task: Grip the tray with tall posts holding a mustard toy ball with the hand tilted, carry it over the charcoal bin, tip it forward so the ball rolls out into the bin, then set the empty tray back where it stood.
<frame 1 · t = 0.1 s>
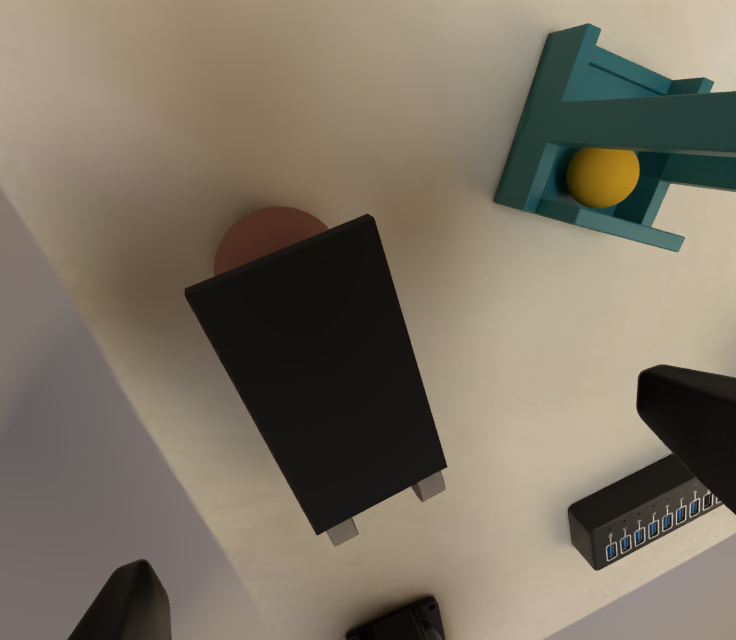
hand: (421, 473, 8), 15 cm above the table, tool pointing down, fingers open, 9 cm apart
figurine character: (316, 349, 23), on the table
tray with tall posts: (581, 143, 23), on the table, touching toy ball
toy ball: (601, 174, 22), point 2 cm above the table, touching tray with tall posts
multiport hub: (651, 483, 35), on the table
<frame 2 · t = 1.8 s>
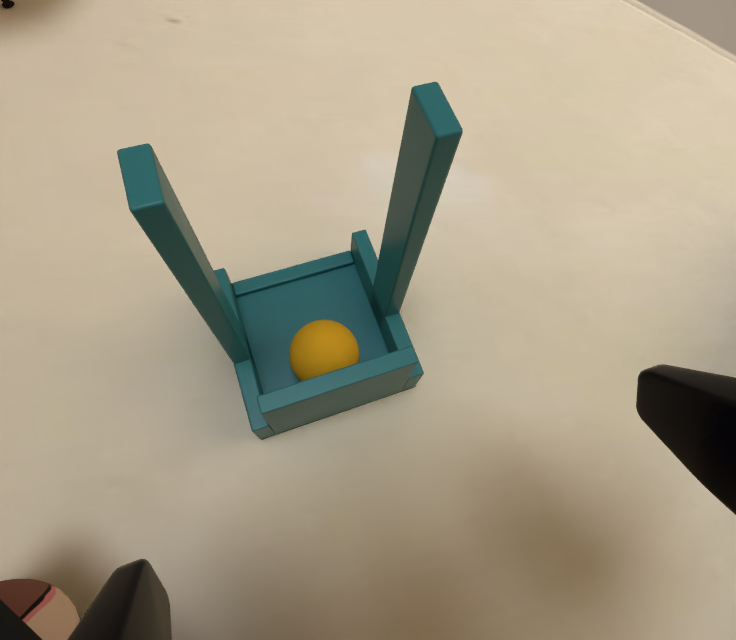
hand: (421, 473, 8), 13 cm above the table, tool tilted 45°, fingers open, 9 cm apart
tray with tall posts: (315, 339, 23), on the table, touching toy ball
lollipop: (12, 6, 30), on the table
toy ball: (324, 354, 21), point 2 cm above the table, tilted 6°, touching tray with tall posts
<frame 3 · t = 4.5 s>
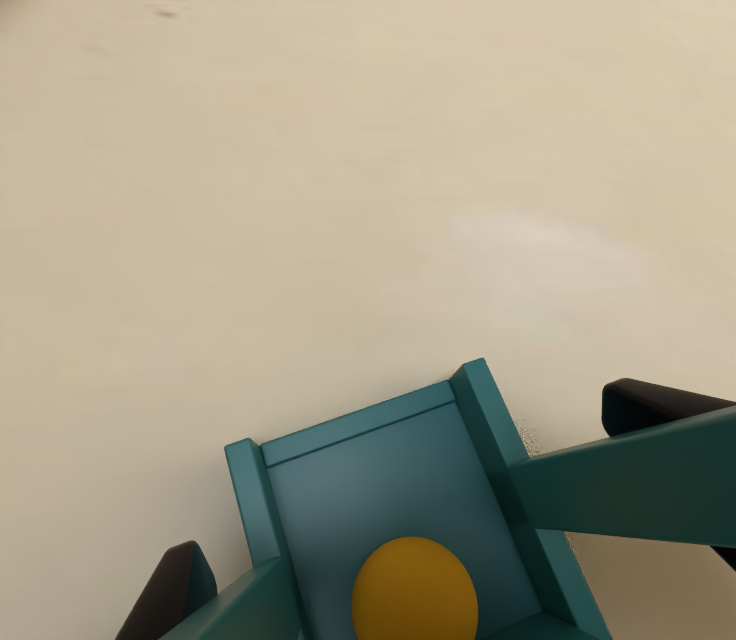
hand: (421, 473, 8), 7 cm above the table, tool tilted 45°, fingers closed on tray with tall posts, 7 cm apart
tray with tall posts: (398, 536, 14), on the table, touching gripper, toy ball
toy ball: (414, 605, 11), point 2 cm above the table, tilted 16°, touching tray with tall posts
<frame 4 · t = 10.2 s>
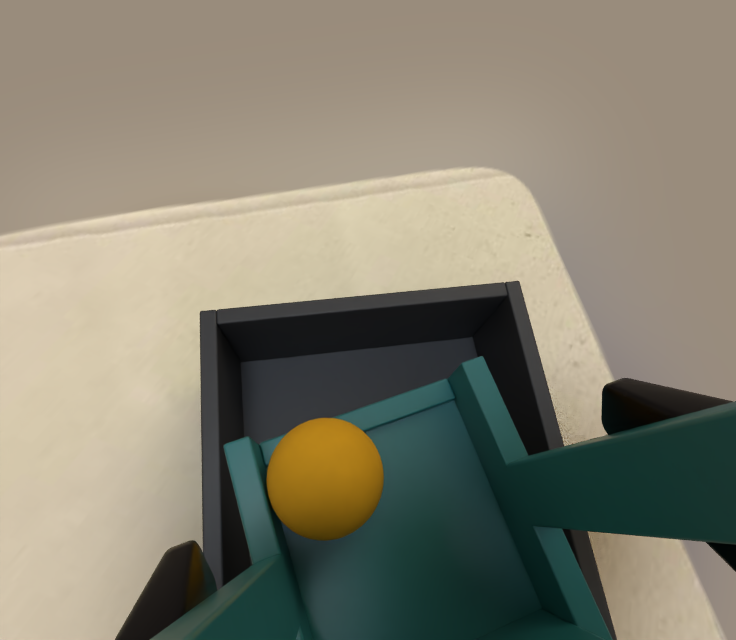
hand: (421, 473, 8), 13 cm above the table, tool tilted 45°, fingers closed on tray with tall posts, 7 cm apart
bin: (375, 471, 21), on the table
tray with tall posts: (397, 534, 14), point 7 cm above the table, touching gripper, toy ball
toy ball: (325, 476, 12), point 9 cm above the table, tilted 117°, touching tray with tall posts
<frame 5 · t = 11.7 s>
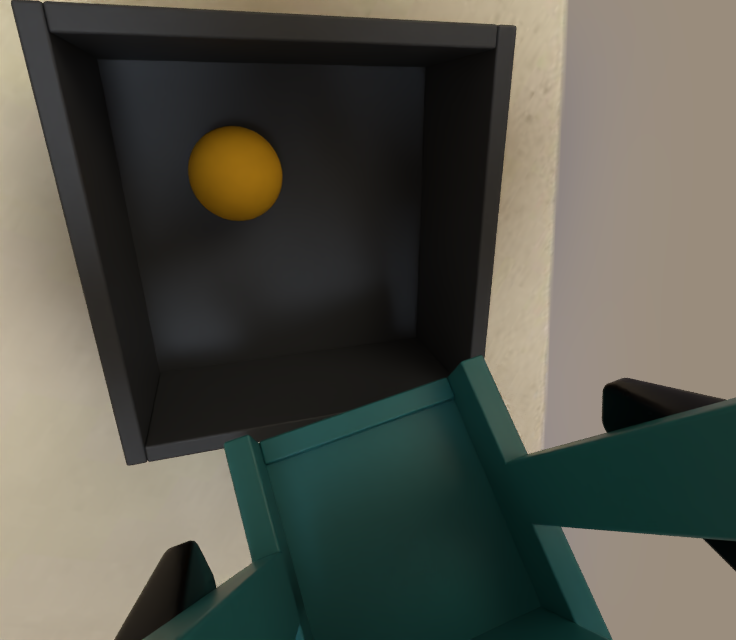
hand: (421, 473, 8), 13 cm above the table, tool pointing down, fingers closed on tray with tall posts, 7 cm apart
bin: (286, 222, 19), on the table
tray with tall posts: (396, 532, 14), point 9 cm above the table, tilted 45°, touching gripper
toy ball: (236, 174, 16), point 2 cm above the table, tilted 115°, touching bin
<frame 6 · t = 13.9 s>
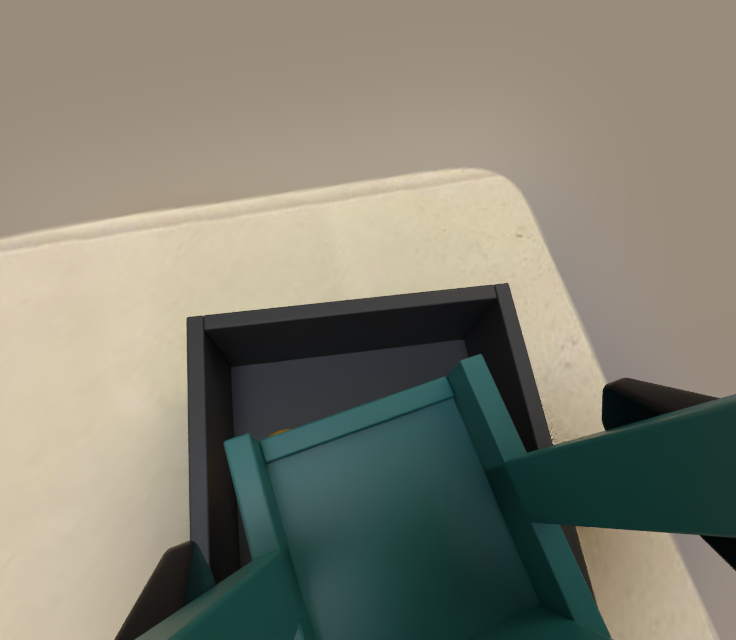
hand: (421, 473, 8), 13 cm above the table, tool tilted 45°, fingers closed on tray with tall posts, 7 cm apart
bin: (367, 475, 21), on the table
tray with tall posts: (396, 531, 14), point 7 cm above the table, touching gripper
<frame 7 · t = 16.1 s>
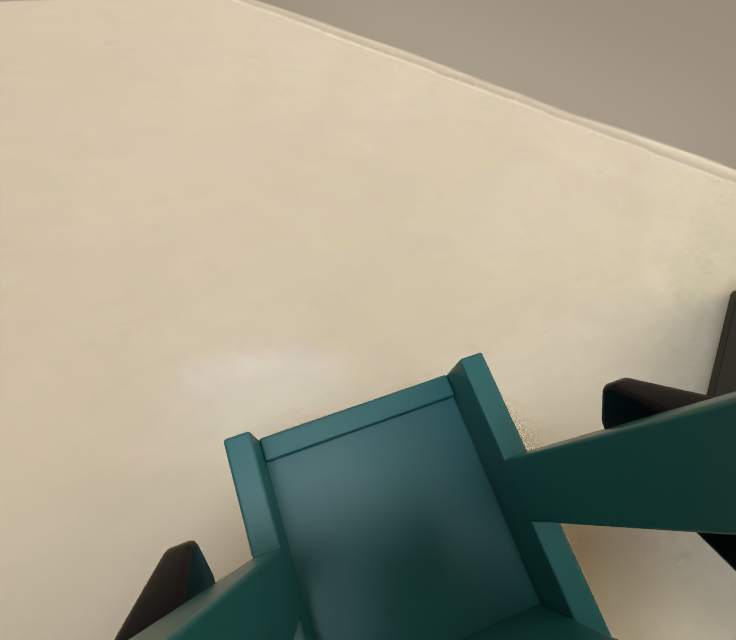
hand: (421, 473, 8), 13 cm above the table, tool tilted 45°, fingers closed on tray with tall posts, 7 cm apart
tray with tall posts: (396, 530, 14), point 7 cm above the table, touching gripper
when the fingers open (7 cm above the table, at t = 20.0 s): tray with tall posts stays where it is, on the table.
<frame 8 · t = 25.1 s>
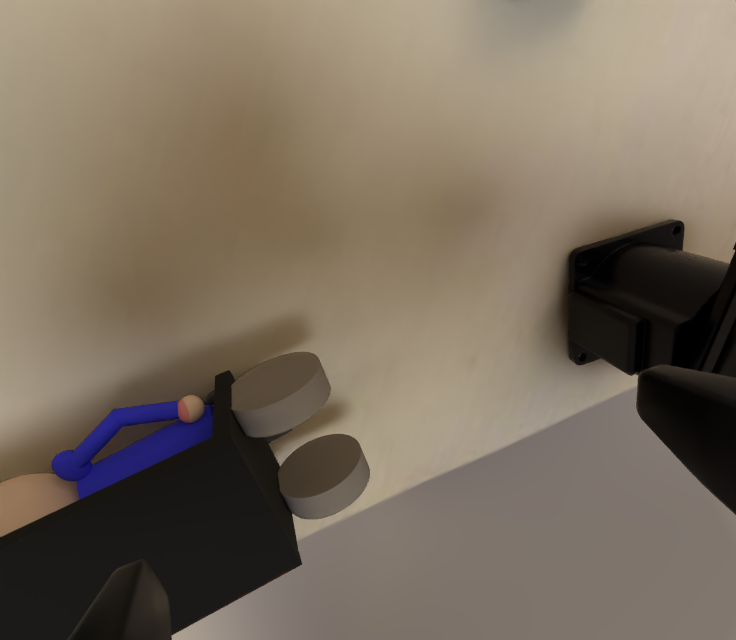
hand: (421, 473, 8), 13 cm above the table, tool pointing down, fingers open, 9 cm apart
figurine character: (166, 440, 21), on the table
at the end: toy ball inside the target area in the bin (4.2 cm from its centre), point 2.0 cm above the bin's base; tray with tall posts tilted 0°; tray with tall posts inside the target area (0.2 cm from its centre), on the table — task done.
